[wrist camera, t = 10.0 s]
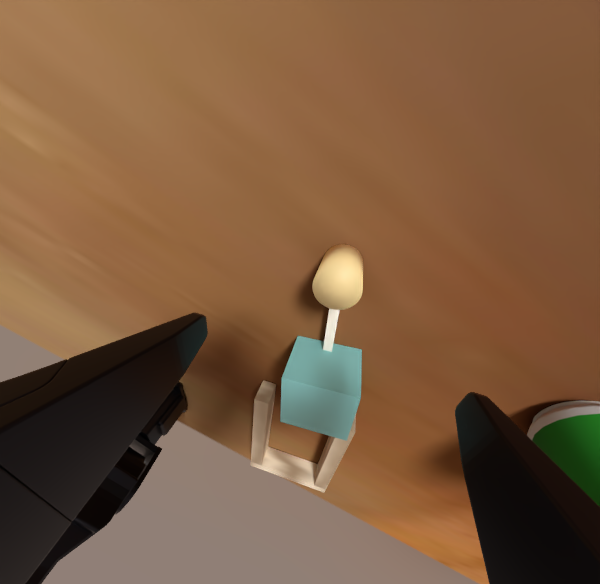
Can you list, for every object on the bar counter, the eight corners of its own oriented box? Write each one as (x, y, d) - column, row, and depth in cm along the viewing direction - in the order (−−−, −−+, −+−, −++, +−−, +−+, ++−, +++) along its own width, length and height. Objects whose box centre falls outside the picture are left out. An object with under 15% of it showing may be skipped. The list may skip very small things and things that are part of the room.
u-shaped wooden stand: (257, 446, 35) (250, 465, 33) (263, 380, 26) (254, 399, 24) (326, 471, 33) (324, 492, 31) (356, 409, 25) (355, 432, 23)
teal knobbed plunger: (294, 377, 25) (280, 421, 21) (305, 238, 17) (284, 264, 13) (350, 391, 24) (346, 440, 19) (389, 250, 16) (397, 283, 12)
